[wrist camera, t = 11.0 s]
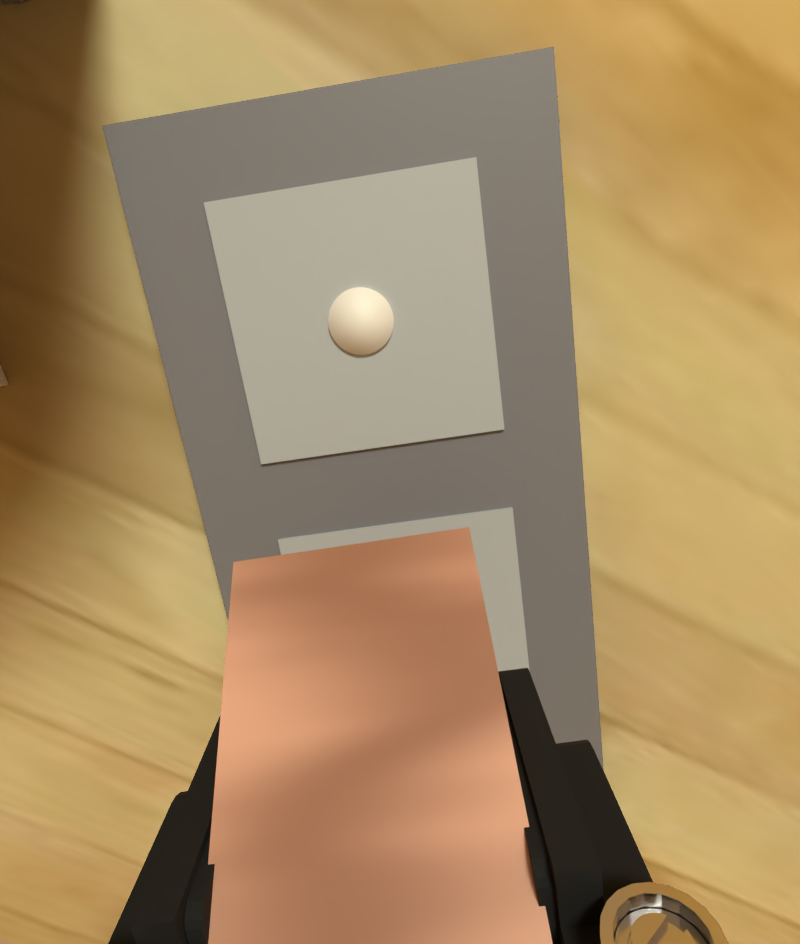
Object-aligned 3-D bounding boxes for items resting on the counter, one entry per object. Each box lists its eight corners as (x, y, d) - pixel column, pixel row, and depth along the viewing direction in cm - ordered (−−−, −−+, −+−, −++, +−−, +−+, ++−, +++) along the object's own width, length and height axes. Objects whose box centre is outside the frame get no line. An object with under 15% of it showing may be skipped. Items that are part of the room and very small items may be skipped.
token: (469, 527, 10) (565, 1009, 6) (474, 623, 13) (541, 982, 9) (233, 561, 10) (191, 1054, 6) (294, 649, 13) (290, 1012, 10)
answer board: (542, 66, 12) (556, 42, 11) (605, 927, 19) (618, 966, 18) (124, 139, 13) (97, 122, 12) (326, 955, 19) (320, 995, 18)
